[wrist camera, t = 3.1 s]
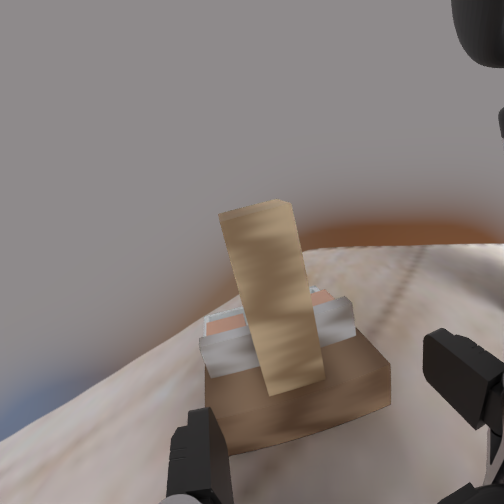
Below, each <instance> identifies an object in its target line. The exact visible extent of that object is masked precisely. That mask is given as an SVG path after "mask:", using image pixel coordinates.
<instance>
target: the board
mask: <svg viewBox="0 0 504 504" xmlns="http://www.w3.org/2000/svg"><path fill="white" fill-rule="evenodd" d="M355 329H356V336H353V337H351V338H348V339H345V340H342V341H339V342H336V343H333V344H330V345H327V346H324V347H321V354H322V360H323V366H324V371H325V377H326V379H324V380H321V381H318V382H315V383H312V384H309V385H306V386H303V387H300V388H297V389H293V390H290V391H287V392H283V393H280V394H276V395H273V396H269V394H268V391H267V387H266V384H265V381H264V377H263V374H262V370H261V367H260V366H258V367H255V368H251V369H247V370H243V371H240V372H236V373H232V374H228V375H224V376H220V377H215V378H211V377H210V375H209V372H208V370H207V367H206V364H205V408H206V407H211V409H212V411H213V413H214V415H215V418H216V420H217V422H218V424H219V426H220V429H221V431H222V433H223V435H224V438H225V441H226V444H227V448H228V456H231V455H236V454H240V453H245V452H249V451H253V450H257V449H262V448H265V447H269V446H273V445H277V444H281V443H284V442H288V441H291V440H295V439H298V438H301V437H304V436H308V435H311V434H314V433H317V432H320V431H323V430H326V429H329V428H332V427H335V426H337V425H340V424H343V423H346V422H348V421H351V420H354V419H356V418H359V417H361V416H364V415H366V414H369V413H371V412H374V411H376V410H378V409H381V408H383V407H385V406H388V405H390V404H391V367H390V363H389V362H388V361H387V360H386V359H385V358H384V357H383V356H382V355H381V353H380V352H379V351H378V350H377V349H376V348H375V347H374V346H373V345H372V344H371V343H370V342H369V341H368V340H367V339H366V337H365V336H364V335H363V334H362V333H361V332H360V331H359V330H358V329H357V328H356V327H355Z"/></svg>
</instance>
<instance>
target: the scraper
mask: <svg viewBox="0 0 504 504" xmlns="http://www.w3.org/2000/svg"><path fill="white" fill-rule="evenodd" d="M218 216H219V220H220V224H221V228H222V232H223V235H224V239H225V243H226V246H227V250H228V254H229V258H230V261H231V265H232V269H233V272H234V276H235V280H236V283H237V287H238V290H239V294H240V297H241V301H242V305H243V308H244V312H245V315H246V319H247V322H248V325H247V326H244V327H240V328H236V329H232V330H229V331H225V332H221V333H217V334H213V335H209V336H205V337H201V338H199V348H200V351H201V354H202V356H203V359H204V362H205V364H206V367H207V370H208V372H209V375H210V377H211V378H215V377H220V376H224V375H228V374H232V373H236V372H240V371H243V370H247V369H251V368H255V367H258V366H260V367H261V370H262V374H263V377H264V381H265V384H266V387H267V391H268V394H269V396H273V395H276V394H280V393H283V392H287V391H290V390H293V389H297V388H300V387H303V386H306V385H309V384H312V383H315V382H318V381H321V380H324V379H326V377H325V371H324V366H323V360H322V354H321V347H324V346H327V345H330V344H333V343H336V342H339V341H342V340H345V339H348V338H351V337H353V336H356V329H355V321H354V313H353V306H352V302H351V301H350V300H348V299H347V298H346V297H345V296H344V297H341V298H338V299H335V300H332V301H328V302H325V303H322V304H319V305H316V306H313V305H312V300H311V295H310V290H309V285H308V280H307V275H306V270H305V265H304V260H303V255H302V251H301V246H300V241H299V237H298V232H297V228H296V223H295V219H294V214H293V210H292V205H291V203H288V202H285V201H282V200H279V199H274V200H270V201H266V202H262V203H258V204H254V205H251V206H247V207H243V208H239V209H235V210H231V211H228V212H224V213H220V214H218Z"/></svg>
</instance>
